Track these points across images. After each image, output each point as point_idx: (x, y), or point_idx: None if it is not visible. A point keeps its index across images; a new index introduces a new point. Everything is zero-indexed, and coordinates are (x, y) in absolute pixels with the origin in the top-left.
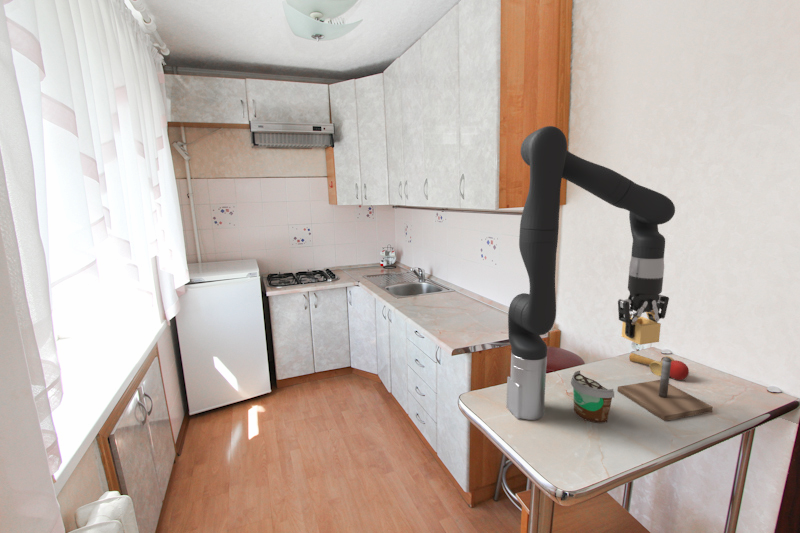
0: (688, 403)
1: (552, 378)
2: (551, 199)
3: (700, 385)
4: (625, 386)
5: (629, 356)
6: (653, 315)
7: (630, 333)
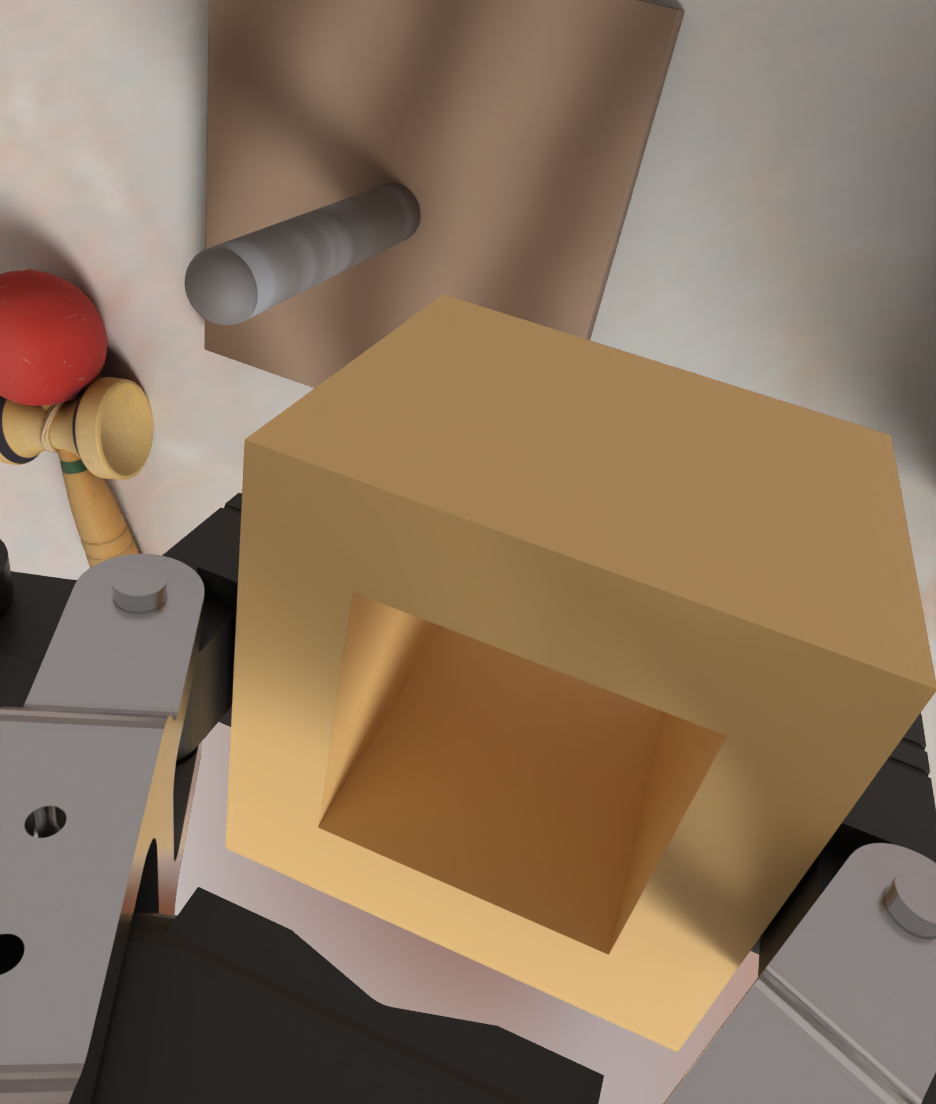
0: (328, 35)
1: None
2: None
3: (17, 182)
4: None
5: None
6: (175, 732)
7: None
